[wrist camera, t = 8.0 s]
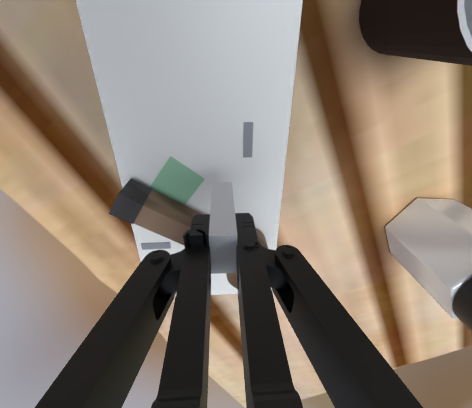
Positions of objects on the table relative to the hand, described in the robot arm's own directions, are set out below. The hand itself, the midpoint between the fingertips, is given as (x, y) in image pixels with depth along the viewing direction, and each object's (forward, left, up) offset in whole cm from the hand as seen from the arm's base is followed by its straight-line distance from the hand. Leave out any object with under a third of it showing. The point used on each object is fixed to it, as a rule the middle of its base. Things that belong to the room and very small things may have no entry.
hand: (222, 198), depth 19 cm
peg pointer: (+5, -2, -4) cm, 6 cm away
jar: (+8, +23, -6) cm, 25 cm away
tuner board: (+1, -2, -6) cm, 6 cm away
